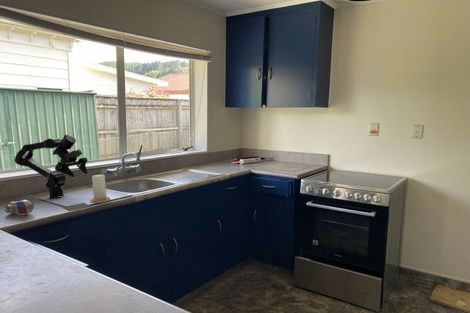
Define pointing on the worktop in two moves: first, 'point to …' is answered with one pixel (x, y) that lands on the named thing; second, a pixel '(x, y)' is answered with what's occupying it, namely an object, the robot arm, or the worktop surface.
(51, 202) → the worktop surface
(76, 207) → the rubber mat
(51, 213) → the worktop surface
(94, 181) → the tumbler
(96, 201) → the saucer
